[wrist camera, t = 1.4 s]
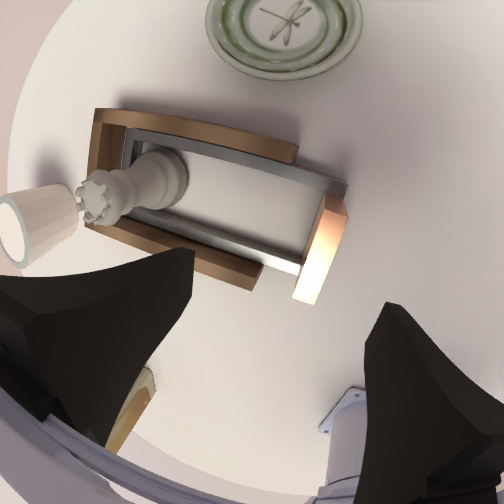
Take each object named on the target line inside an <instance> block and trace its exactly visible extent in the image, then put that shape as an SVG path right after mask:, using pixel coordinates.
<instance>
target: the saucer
mask: <svg viewBox="0 0 504 504" xmlns="http://www.w3.org/2000/svg"><path fill="white" fill-rule="evenodd" d="M205 24H206V31H207V35H208V38H209V41H210V43H211V45H212V47H213V48H214V50H215V51H216V53H217V54H218V55H219V56H220V57H221V58H222V59H223V60H224V61H225V62H226V63H228V64H229V65H230V66H232V67H233V68H235V69H237V70H238V71H240V72H242V73H245V74H247V75H250V76H253V77H256V78H260V79H265V80H272V81H293V80H301V79H305V78H309V77H313V76H316V75H319V74H321V73H323V72H325V71H327V70H329V69H331V68H333V67H334V66H336V65H337V64H339V63H340V62H341V61H342V60H343V59H345V58H346V57H347V56H348V54H349V53H350V52H351V51H352V49H353V48H354V46H355V45H356V43H357V41H358V39H359V36H360V33H361V29H362V10H361V6H360V3H359V1H358V0H210V2H209V4H208V7H207V11H206V19H205Z"/></svg>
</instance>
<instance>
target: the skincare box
mask: <svg viewBox="0 0 504 504" xmlns="http://www.w3.org/2000/svg"><path fill="white" fill-rule="evenodd" d="M155 392H156V391H155V386H154V381H153V376H152V372H151V370H149V369H146V368H144V367H143V369H142V371H141V372H140V374H139V376H138V378H137V379H136V381H135V383H134V385H133V387H132V389H131V391H130V392H129V394H128V396H127V398H126V400H125V402H124V404H123V406H122V408H121V411H120V413H119V415H118V417H117V419H116V421H115V424H114V426H113V428H112V431H111V433H110V436H109V438H108V441H107V443H106V446H105V449H107V450H108V451H110V452H112V453H114V454H117V452H118V451H119V449H120V447H121V446H122V444H123V443H124V441H125V440H126V438H127V436H128V435H129V433H130V432H131V430H132V429H133V427H134V426H135V424H136V422H137V421H138V419H139V418H140V416H141V414H142V413H143V411H144V410H145V408H146V407H147V405H148V403H149V402H150V400H151V399H152V397H153V396H154V394H155Z"/></svg>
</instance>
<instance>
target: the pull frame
mask: <svg viewBox="0 0 504 504" xmlns="http://www.w3.org/2000/svg"><path fill="white" fill-rule="evenodd" d="M142 141H144V142H148V143H153V144H158V145H163V146H167V147H172V148H176V149H181V150H185V151H189V152H193V153H198V154H202V155H206V156H210V157H214V158H218V159H221V160H225V161H229V162H233V163H236V164H240V165H244V166H247V167H251V168H254V169H258V170H261V171H265V172H268V173H271V174H275V175H278V176H281V177H284V178H288V179H291V180H294V181H297V182H300V183H303V184H306V185H309V186H312V187H315V188H318V189H321V190H324V194H323V197H322V200H321V203H320V206H319V209H318V212H317V215H316V218H315V221H314V224H313V227H312V230H311V233H310V236H309V239H308V241H307V244H306V247H305V250H304V253H303V256H302V258H300V257H297V256H294V255H291V254H288V253H285V252H282V251H279V250H277V249H274V248H271V247H268V246H265V245H262V244H259V243H256V242H253V241H250V240H247V239H244V238H241V237H238V236H235V235H232V234H229V233H226V232H223V231H220V230H217V229H214V228H211V227H208V226H205V225H202V224H199V223H196V222H193V221H190V220H187V219H184V218H181V217H178V216H175V215H172V214H169V213H166V212H163V211H159V210H153V209H148V208H145V207H142V206H137V207H133V209H132V210H131V211H130V212H129V213H128V214H125V216H128V217H130V218H133V219H136V220H139V221H142V222H145V223H147V224H150V225H153V226H156V227H159V228H162V229H164V230H167V231H170V232H173V233H176V234H179V235H181V236H184V237H187V238H190V239H193V240H196V241H199V242H201V243H204V244H207V245H210V246H213V247H216V248H219V249H222V250H224V251H227V252H230V253H233V254H236V255H239V256H242V257H245V258H248V259H250V260H253V261H256V262H259V263H262V264H265V265H268V266H271V267H274V268H277V269H279V270H282V271H285V272H288V273H291V274H294V275H297V280H296V284H295V289H294V293H293V297H292V298H295V299H298V300H301V301H304V302H307V303H310V304H313V305H314V302H315V300H316V298H317V296H318V293H319V291H320V289H321V286H322V284H323V281H324V279H325V277H326V274H327V272H328V269H329V267H330V264H331V262H332V259H333V257H334V254H335V252H336V249H337V247H338V244H339V242H340V239H341V237H342V234H343V231H344V229H345V226H346V223H347V221H348V214H347V210H346V206H345V202H344V196H345V193H346V190H347V187H348V184H347V182H344V181H342V180H339V179H336V178H333V177H330V176H327V175H324V174H321V173H318V172H315V171H312V170H309V169H306V168H303V167H300V166H296V165H293V164H288V163H285V162H282V161H278V160H275V159H271V158H268V157H264V156H261V155H257V154H254V153H250V152H246V151H242V150H239V149H235V148H231V147H227V146H223V145H219V144H214V143H210V142H206V141H202V140H197V139H193V138H188V137H183V136H178V135H173V134H168V133H163V132H158V131H152V130H147V129H141V128H135V127H130V128H127V132H126V138H125V144H124V151H123V158H122V165H121V170H122V171H124V170H126V169H128V168H130V167H131V166H132V164H133V163H134V162H135V161H136V160H137V158H138V157H139V156H140V153H141V147H142Z"/></svg>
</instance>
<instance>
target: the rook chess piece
mask: <svg viewBox="0 0 504 504" xmlns="http://www.w3.org/2000/svg"><path fill="white" fill-rule="evenodd" d="M81 183H82V185H83V186H82V187H78V188H77V191H76V196H78V197H80V196H81V202H80V203H77V204H76V206H77V210H78V212H80V211H82V210H84V211H85V213H86V215H84V217H83V220H84V221H85V222H87V223H88V224H89V223H91V222H93V221H94V225H97V224H98V225H102V226H106V227H107V226H110V225H114V224H115V223H116V222H117V221H118V220H119V219H120V216H121V215H125V214H128V213H129V212H130V211H131V210H132V209H133V207H137V206H142V207H145V208H148V209H153V210H159V209H163V208H167V207H169V206H173V205H174V204H176V203H177V202H178V201H179V200H180V199H181V198H182V196H183V194H184V192H185V190H186V184H187V174H186V171H185V167H184V164H183V163H182V162H181V160H180V159H179V157H178V156H177V155H175V154H174V153H172V152H171V151H169V150H164V149H156V150H154V151H149V152H147V153H144V154H142V155H141V156H139V157H138V158H137V160H136V161H135V162H134V163H133V164H132V166H131V167H130V168H128V169H126V170H124V171H122V170H116V169H115V170H112V171H110V172H108V171H106V170H96V171H94V172H92V173H90V175H89V176H88V177H87V179H86V180H85V181H83V182H81Z"/></svg>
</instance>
